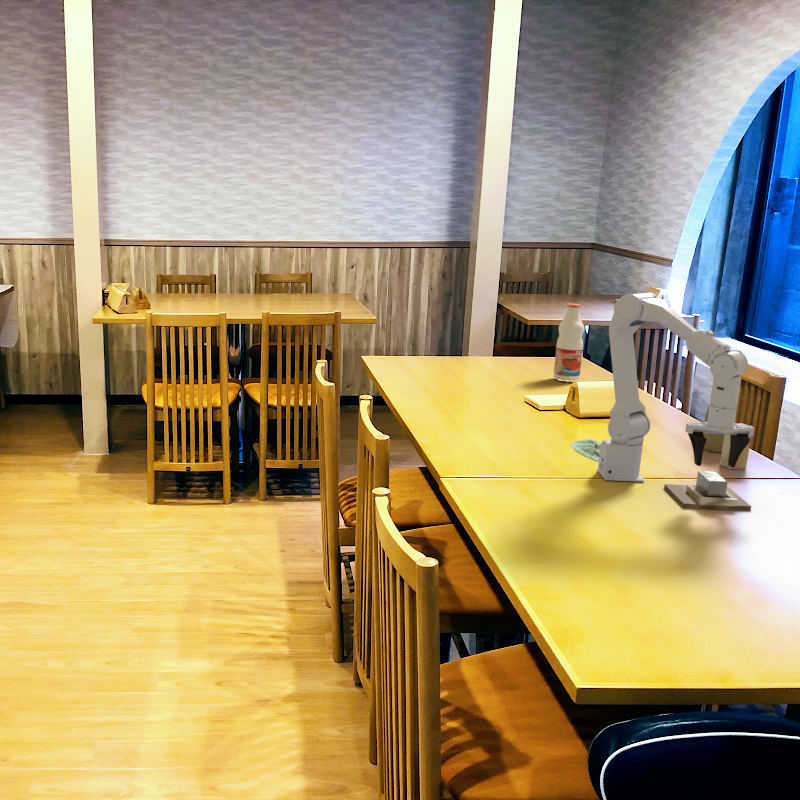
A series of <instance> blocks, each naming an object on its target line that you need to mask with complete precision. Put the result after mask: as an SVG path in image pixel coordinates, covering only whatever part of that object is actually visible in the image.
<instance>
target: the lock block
mask: <svg viewBox="0 0 800 800" xmlns="http://www.w3.org/2000/svg"><path fill="white" fill-rule="evenodd" d="M695 483H696V484H695V485H696V490H697V491H698V492H699V493H700V494H702V495H703V496H704V497H715V498H725V497H726V489H727V487H728V481H727V480H726V479H725V478H724V477H723V476H721V475H720V474H719V473H717V472H716V471H708V470H705V471H704V470H698V471H697V476H696V482H695Z"/></svg>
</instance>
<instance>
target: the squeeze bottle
mask: <svg viewBox="0 0 800 800" xmlns="http://www.w3.org/2000/svg"><path fill="white" fill-rule="evenodd" d="M706 409H707V410H706V413H705V418H704V422H707V418H708V411H709V405H708V406H707V408H706ZM703 435H704V437H705V438H706V439H707V440H706V443H705V446H704V450H706V451H708V452H713V453H722V448H723V442H724V436H725V434H707V433H703Z"/></svg>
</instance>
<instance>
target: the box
mask: <svg viewBox="0 0 800 800" xmlns="http://www.w3.org/2000/svg"><path fill="white" fill-rule="evenodd" d="M735 424H738V425H747V426H749V425H748V424H745V423H736V422H735ZM748 437H749V438H750V442H749V444H748V445H747V446H746V447H745V448H744V450H743V451H742V453H741V454H740V456H739V458H738V460H737V463H736V465H735V467H731V466H729V465H728V458H729V453H730V435H729V434H725V436H724V442H723V448H722V452H721V456H720V461H719V464H720V466H722V467H725V468H726V469H729V470H746V469H747V464H748V458H749V452H750V446H751V440H752V436H748Z"/></svg>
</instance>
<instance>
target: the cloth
mask: <svg viewBox="0 0 800 800" xmlns="http://www.w3.org/2000/svg"><path fill="white" fill-rule="evenodd" d="M601 443H602V441H597V440H595V439H593V438H586V439H585V438H583V439H580V440H575V441H573V442H570V443H569V446H570V447H571V448H572V449H573V450H574V452H576V453H578V454H579V455H581V456H584V457H586V458H588V459H590V460H592V461H595V462H597V463H599V456H600V447H601Z"/></svg>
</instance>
